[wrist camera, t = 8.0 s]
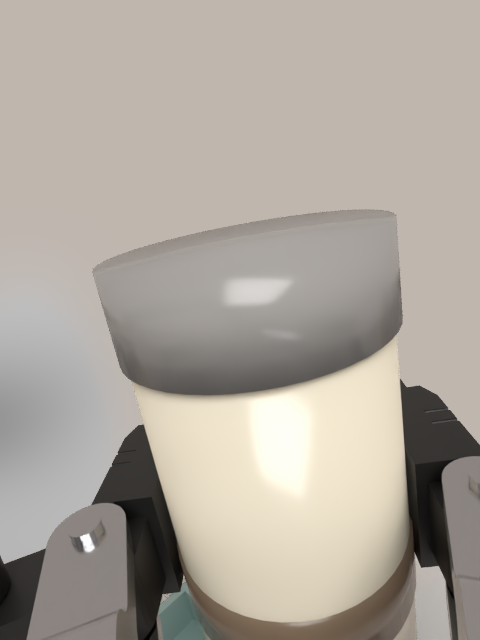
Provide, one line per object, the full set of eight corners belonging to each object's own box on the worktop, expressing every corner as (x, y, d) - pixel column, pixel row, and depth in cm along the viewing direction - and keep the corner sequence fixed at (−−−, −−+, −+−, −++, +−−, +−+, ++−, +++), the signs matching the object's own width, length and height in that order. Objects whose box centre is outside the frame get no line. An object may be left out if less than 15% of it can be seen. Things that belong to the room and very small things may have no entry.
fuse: (363, 984, 8) (226, 287, 4) (206, 758, 11) (47, 272, 7) (464, 741, 10) (453, 200, 6) (315, 621, 14) (245, 219, 10)
